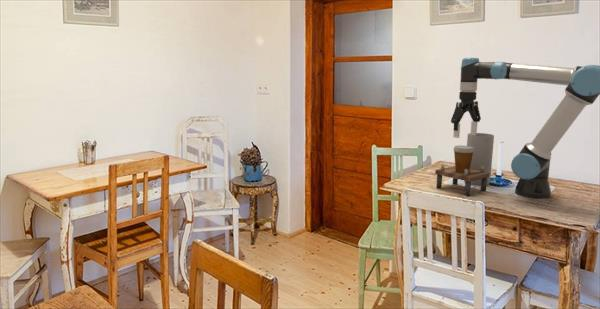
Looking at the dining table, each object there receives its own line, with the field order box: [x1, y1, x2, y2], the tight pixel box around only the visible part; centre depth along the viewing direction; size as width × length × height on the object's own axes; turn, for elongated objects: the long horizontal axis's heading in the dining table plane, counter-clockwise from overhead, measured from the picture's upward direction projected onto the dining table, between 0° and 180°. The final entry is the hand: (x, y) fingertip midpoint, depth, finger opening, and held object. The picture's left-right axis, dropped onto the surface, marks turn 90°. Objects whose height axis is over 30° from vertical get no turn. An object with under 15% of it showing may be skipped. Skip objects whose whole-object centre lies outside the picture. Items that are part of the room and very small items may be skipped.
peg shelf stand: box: [434, 163, 489, 197], centre depth 229 cm, size 19×16×12 cm
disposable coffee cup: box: [453, 144, 474, 173], centre depth 227 cm, size 10×10×12 cm
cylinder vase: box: [464, 132, 495, 187], centre depth 241 cm, size 12×12×25 cm
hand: (465, 136), depth 225 cm, fingers open, 13 cm apart
